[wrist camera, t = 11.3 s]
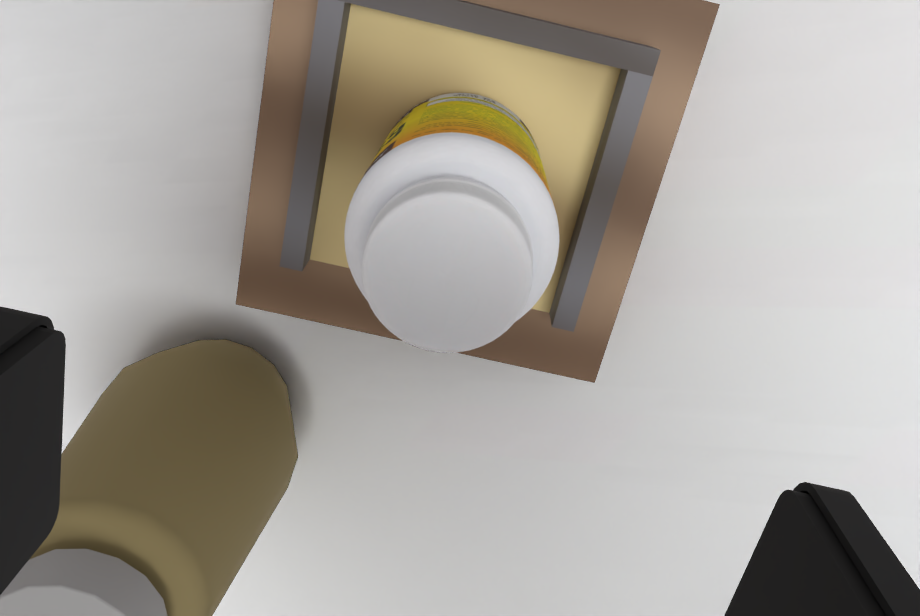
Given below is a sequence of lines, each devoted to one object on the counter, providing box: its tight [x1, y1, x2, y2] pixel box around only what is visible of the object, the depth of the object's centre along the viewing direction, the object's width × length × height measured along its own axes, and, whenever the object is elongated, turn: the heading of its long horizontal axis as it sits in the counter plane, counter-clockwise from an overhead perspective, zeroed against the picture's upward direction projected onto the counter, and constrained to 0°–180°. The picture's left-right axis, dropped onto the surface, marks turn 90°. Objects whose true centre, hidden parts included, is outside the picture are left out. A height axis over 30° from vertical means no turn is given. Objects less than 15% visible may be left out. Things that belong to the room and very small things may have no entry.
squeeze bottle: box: [0, 339, 298, 616], centre depth 27 cm, size 8×8×18 cm
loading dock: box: [236, 0, 720, 383], centre depth 28 cm, size 14×14×4 cm
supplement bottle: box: [344, 93, 559, 353], centre depth 23 cm, size 6×6×10 cm
